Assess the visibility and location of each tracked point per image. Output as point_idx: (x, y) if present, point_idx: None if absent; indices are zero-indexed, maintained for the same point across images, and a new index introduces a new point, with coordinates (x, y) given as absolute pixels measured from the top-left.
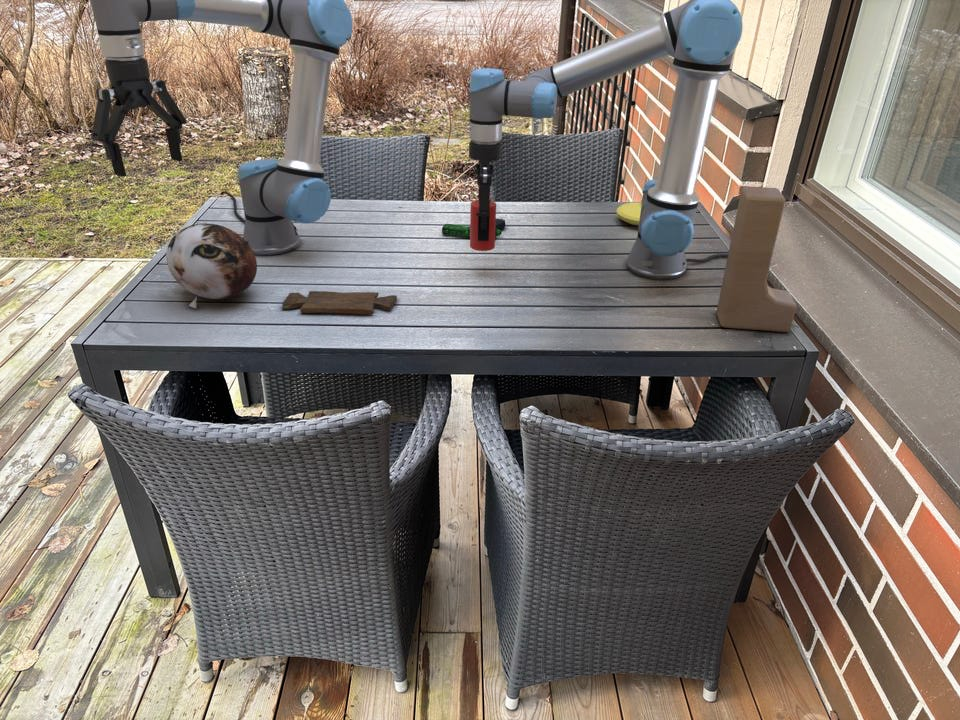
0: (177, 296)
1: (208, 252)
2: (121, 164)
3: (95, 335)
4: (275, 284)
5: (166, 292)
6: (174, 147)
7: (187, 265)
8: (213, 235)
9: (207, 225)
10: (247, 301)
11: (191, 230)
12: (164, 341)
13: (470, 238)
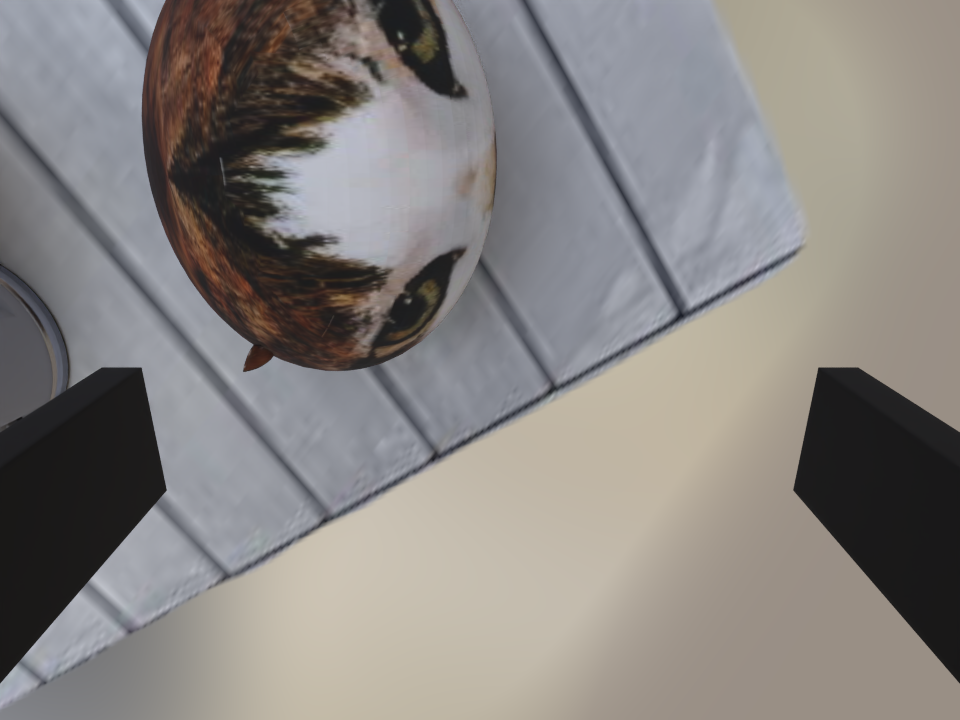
0: None
1: (412, 9)
2: (927, 422)
3: (759, 257)
4: None
5: (444, 330)
6: (57, 483)
7: (487, 112)
8: (317, 51)
9: (267, 171)
10: None
11: (358, 204)
12: (694, 24)
13: None
